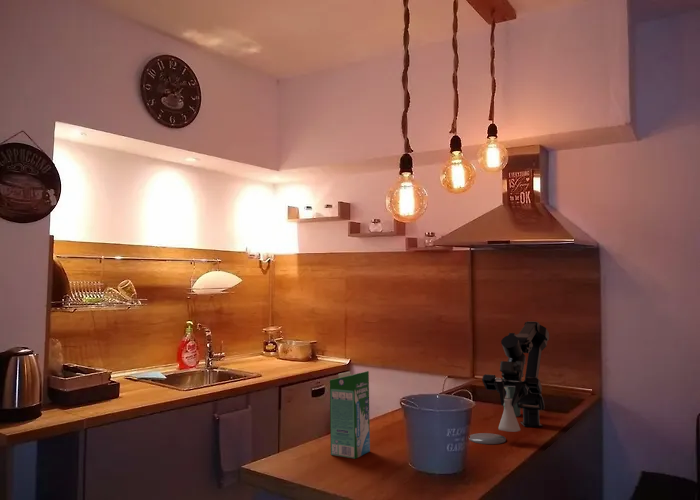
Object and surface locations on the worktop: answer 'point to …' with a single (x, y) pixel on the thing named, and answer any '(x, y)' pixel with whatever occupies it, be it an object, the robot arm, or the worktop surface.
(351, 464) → the worktop surface
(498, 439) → the slate coaster
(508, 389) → the can
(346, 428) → the milk carton
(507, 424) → the flask
